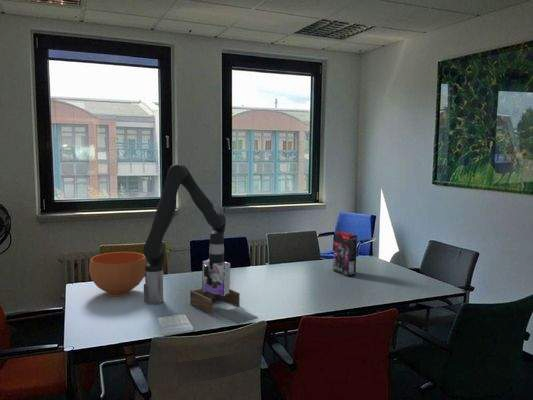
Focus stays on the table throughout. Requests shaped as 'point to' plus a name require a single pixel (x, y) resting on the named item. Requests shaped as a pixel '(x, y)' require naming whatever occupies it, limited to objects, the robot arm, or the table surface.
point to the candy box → (217, 279)
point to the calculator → (175, 324)
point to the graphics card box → (345, 253)
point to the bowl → (117, 272)
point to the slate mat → (237, 315)
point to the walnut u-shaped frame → (205, 299)
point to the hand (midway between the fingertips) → (215, 283)
